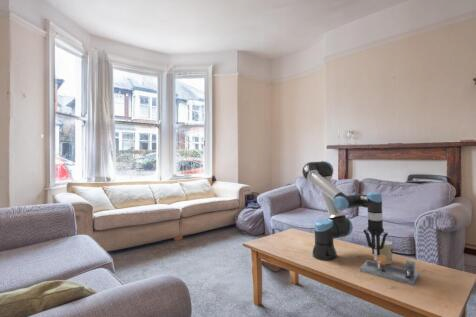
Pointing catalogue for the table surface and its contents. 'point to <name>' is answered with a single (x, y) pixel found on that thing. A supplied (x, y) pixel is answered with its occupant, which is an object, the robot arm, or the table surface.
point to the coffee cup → (387, 251)
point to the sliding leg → (381, 260)
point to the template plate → (392, 271)
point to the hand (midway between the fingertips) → (376, 259)
